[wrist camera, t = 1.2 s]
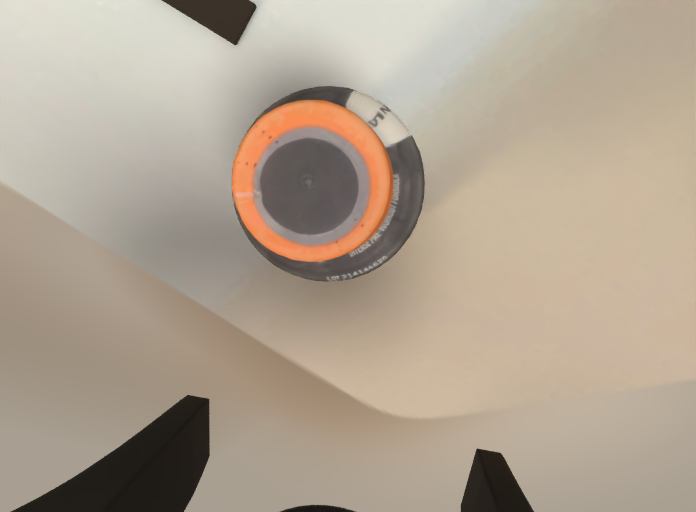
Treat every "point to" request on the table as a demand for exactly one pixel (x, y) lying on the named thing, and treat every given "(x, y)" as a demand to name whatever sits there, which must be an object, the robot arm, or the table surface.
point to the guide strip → (218, 15)
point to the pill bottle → (328, 184)
